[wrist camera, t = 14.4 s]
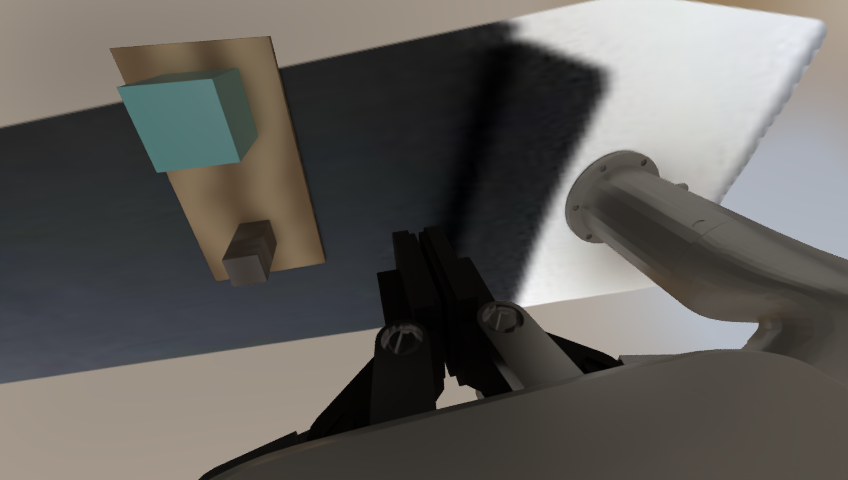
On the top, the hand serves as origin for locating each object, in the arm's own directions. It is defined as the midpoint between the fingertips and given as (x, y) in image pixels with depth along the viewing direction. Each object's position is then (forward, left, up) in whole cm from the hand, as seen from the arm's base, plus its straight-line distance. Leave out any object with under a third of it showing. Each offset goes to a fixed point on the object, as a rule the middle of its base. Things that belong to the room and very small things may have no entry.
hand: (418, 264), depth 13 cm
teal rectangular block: (+13, -2, -26) cm, 29 cm away
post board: (+13, +4, -27) cm, 30 cm away
